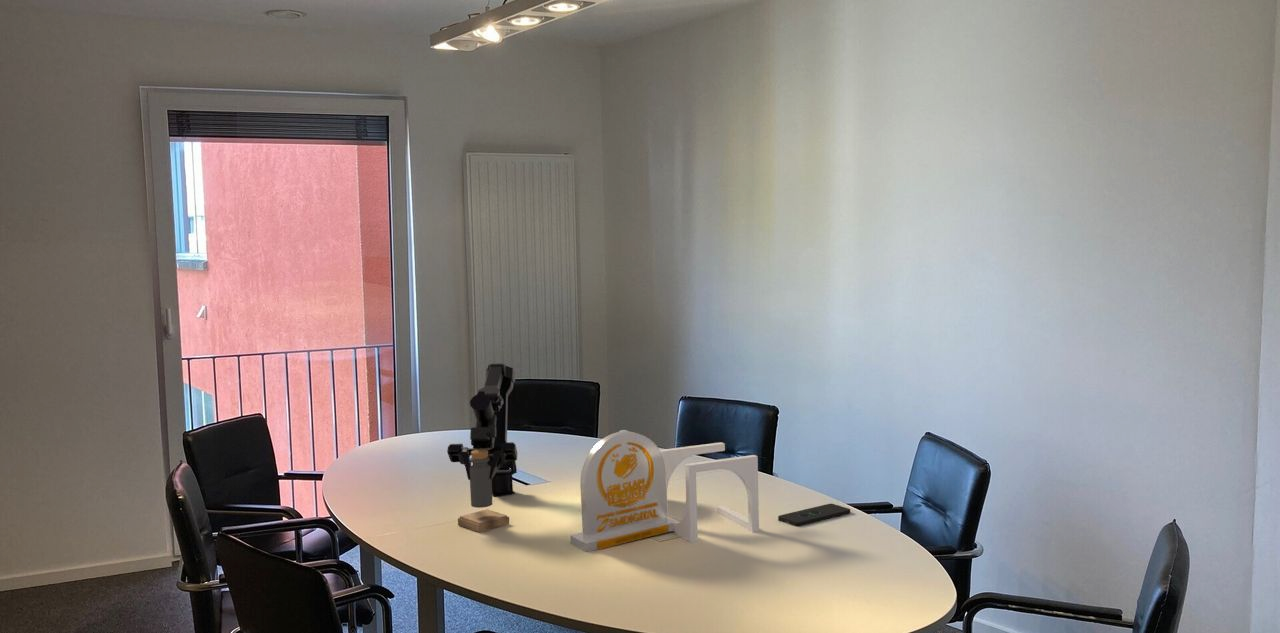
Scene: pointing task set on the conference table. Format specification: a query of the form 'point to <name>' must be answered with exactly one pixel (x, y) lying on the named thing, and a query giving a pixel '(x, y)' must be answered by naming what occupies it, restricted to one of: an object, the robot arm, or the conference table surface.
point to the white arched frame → (739, 465)
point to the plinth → (483, 520)
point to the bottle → (480, 479)
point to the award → (622, 492)
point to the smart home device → (813, 515)
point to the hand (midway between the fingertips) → (479, 478)
